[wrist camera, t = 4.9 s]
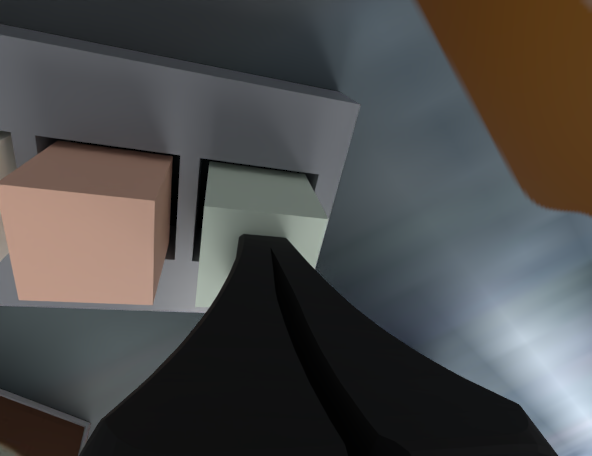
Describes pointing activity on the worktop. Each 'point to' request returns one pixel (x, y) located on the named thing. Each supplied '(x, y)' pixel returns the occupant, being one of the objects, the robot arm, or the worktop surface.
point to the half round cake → (38, 429)
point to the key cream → (4, 163)
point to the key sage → (254, 218)
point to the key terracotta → (88, 224)
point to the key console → (165, 130)
